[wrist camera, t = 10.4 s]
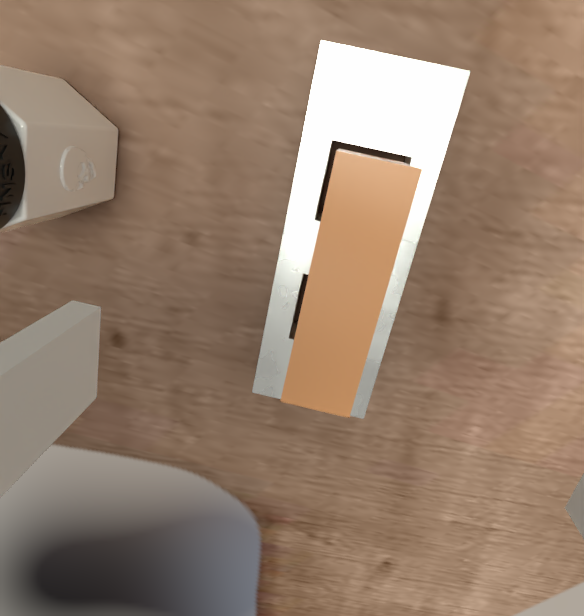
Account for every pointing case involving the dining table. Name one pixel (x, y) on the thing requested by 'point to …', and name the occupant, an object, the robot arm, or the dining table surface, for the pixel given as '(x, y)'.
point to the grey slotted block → (312, 170)
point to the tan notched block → (348, 279)
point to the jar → (51, 150)
